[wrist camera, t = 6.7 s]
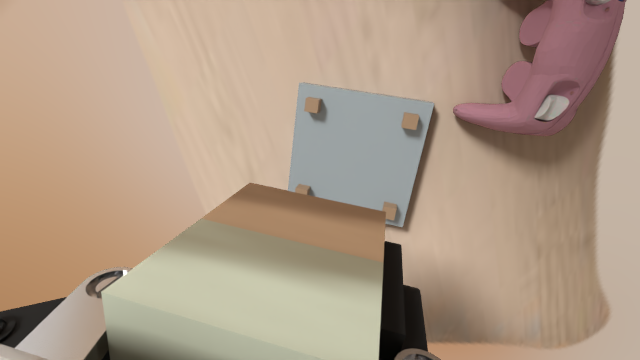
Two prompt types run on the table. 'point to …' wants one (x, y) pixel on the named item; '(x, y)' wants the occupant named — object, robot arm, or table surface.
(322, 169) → the board
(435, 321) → the table surface
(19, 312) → the robot arm
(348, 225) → the block stack
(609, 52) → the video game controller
